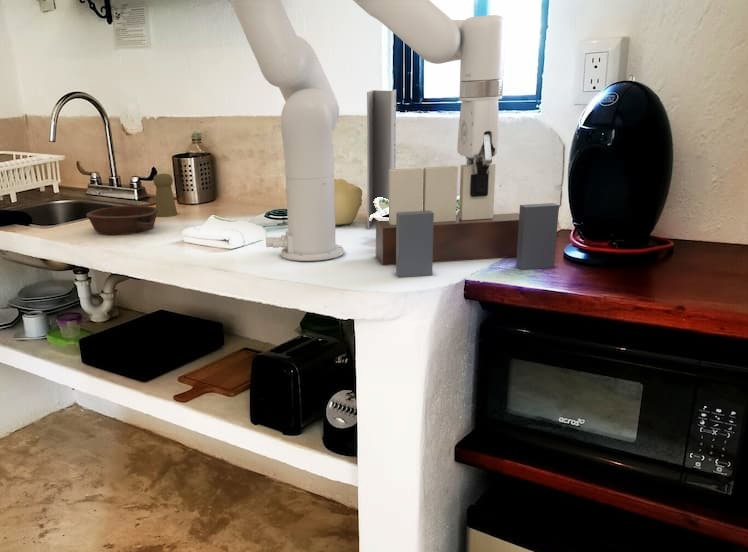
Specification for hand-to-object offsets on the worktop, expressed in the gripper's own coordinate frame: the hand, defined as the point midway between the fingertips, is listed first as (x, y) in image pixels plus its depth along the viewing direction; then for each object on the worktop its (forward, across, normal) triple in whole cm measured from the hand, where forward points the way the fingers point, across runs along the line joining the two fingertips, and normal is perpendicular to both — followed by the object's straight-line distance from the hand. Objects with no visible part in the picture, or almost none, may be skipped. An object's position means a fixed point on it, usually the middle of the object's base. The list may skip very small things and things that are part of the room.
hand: (476, 194), depth 145 cm
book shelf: (+12, 0, -5) cm, 13 cm away
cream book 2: (+5, 0, -7) cm, 8 cm away
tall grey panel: (+12, -39, -11) cm, 42 cm away
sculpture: (+12, -41, -22) cm, 48 cm away
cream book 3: (+5, 0, 0) cm, 5 cm away
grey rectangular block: (+12, +12, +7) cm, 18 cm away
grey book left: (+12, +12, -15) cm, 22 cm away
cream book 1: (+5, 0, -14) cm, 14 cm away
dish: (+12, -50, -74) cm, 90 cm away
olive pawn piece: (+12, -71, -65) cm, 97 cm away
